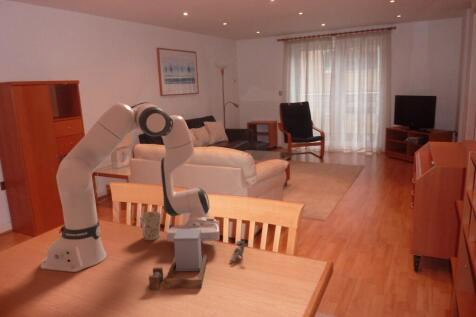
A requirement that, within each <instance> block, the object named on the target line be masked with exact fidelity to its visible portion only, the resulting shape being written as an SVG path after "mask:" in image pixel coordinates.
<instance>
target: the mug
mask: <svg viewBox="0 0 476 317" xmlns="http://www.w3.org/2000/svg"><path fill="white" fill-rule="evenodd" d="M139 220H140V224H141V228H142V238H143V240H147V241H155V240H157V239H159V238H160V233H161V232H160V231H161V230H160V229H161V213H160V212H158V211H155V210H154V211H147V212H143V213H141V214H140V215H139Z"/></svg>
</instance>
